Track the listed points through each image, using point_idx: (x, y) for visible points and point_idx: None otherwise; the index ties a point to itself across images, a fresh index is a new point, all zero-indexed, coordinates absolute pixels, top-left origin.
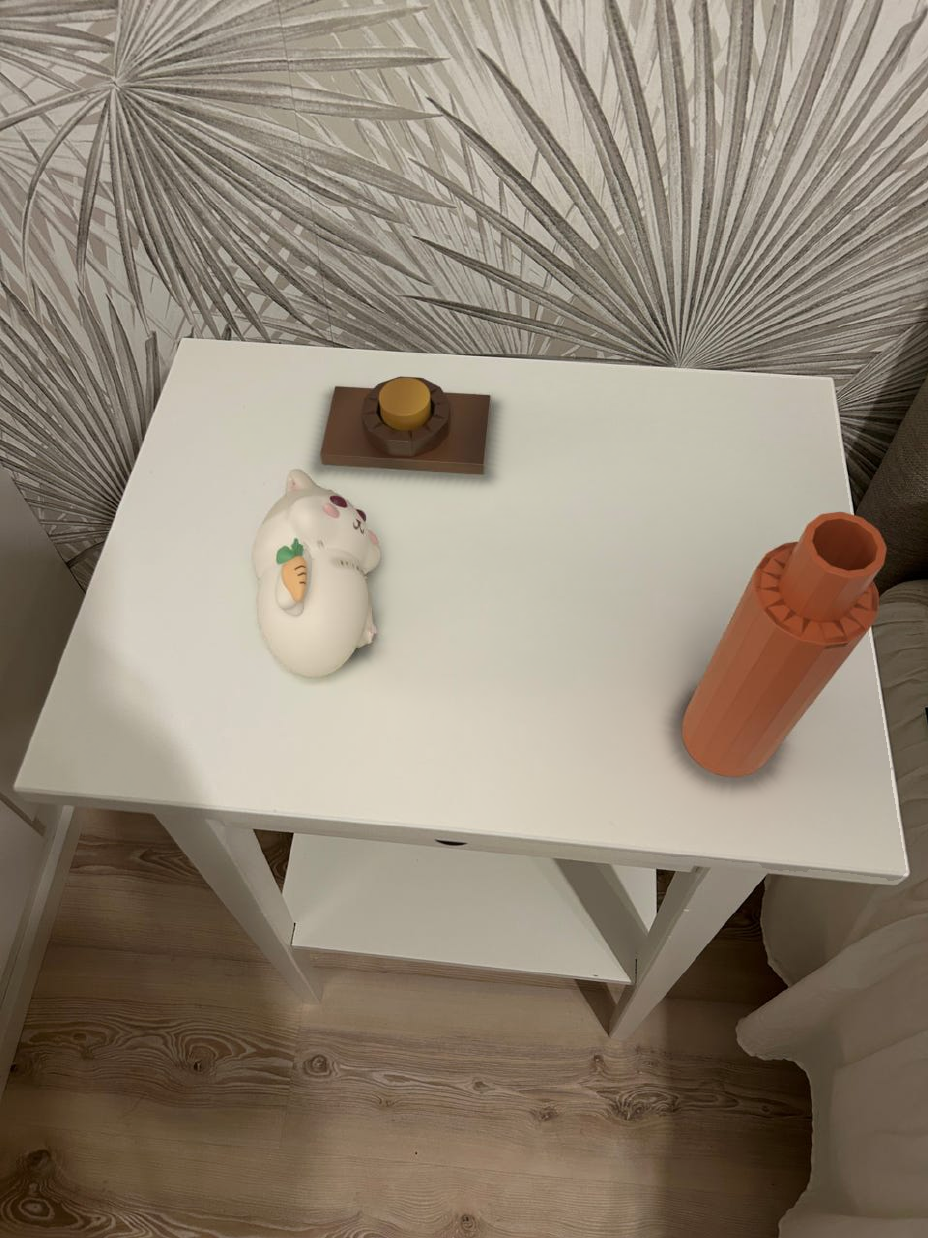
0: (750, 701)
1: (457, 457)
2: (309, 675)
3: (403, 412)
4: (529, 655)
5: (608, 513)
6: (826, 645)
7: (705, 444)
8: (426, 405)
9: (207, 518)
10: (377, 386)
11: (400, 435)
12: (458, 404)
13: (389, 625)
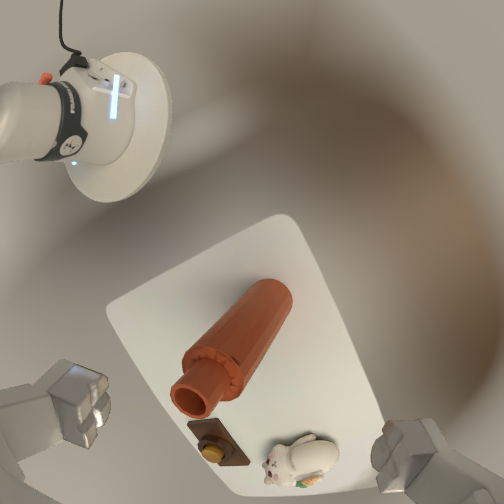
0: (269, 341)
1: (218, 430)
2: (338, 450)
3: (217, 456)
4: (282, 384)
5: None
6: (238, 366)
7: (150, 345)
8: (209, 450)
9: None
10: None
11: (225, 451)
12: (198, 433)
13: (300, 429)
